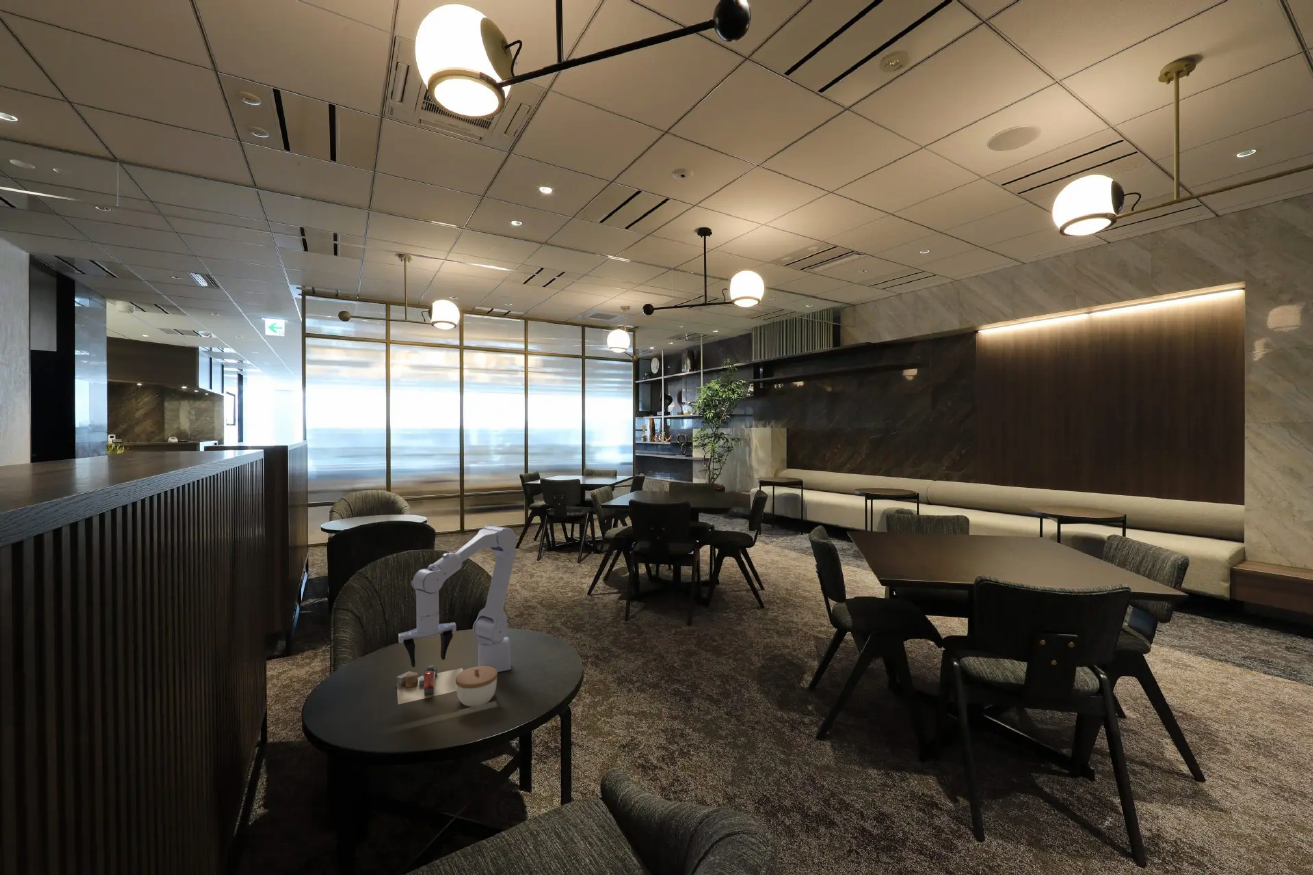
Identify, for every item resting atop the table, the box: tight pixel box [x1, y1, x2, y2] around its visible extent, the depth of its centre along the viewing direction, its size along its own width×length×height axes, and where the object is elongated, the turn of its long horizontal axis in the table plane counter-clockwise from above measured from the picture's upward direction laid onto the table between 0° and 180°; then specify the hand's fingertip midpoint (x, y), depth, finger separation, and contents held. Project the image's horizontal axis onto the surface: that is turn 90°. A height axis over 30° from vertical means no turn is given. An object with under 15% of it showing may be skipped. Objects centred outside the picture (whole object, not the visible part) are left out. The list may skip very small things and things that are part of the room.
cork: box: [406, 671, 419, 688], centre depth 145 cm, size 3×3×3 cm
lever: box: [419, 666, 438, 695], centre depth 146 cm, size 5×14×6 cm, turn 22°
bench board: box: [396, 664, 464, 706], centre depth 146 cm, size 18×14×4 cm
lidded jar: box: [456, 665, 498, 710], centre depth 138 cm, size 11×11×9 cm
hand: (428, 661), depth 141 cm, fingers open, 7 cm apart
